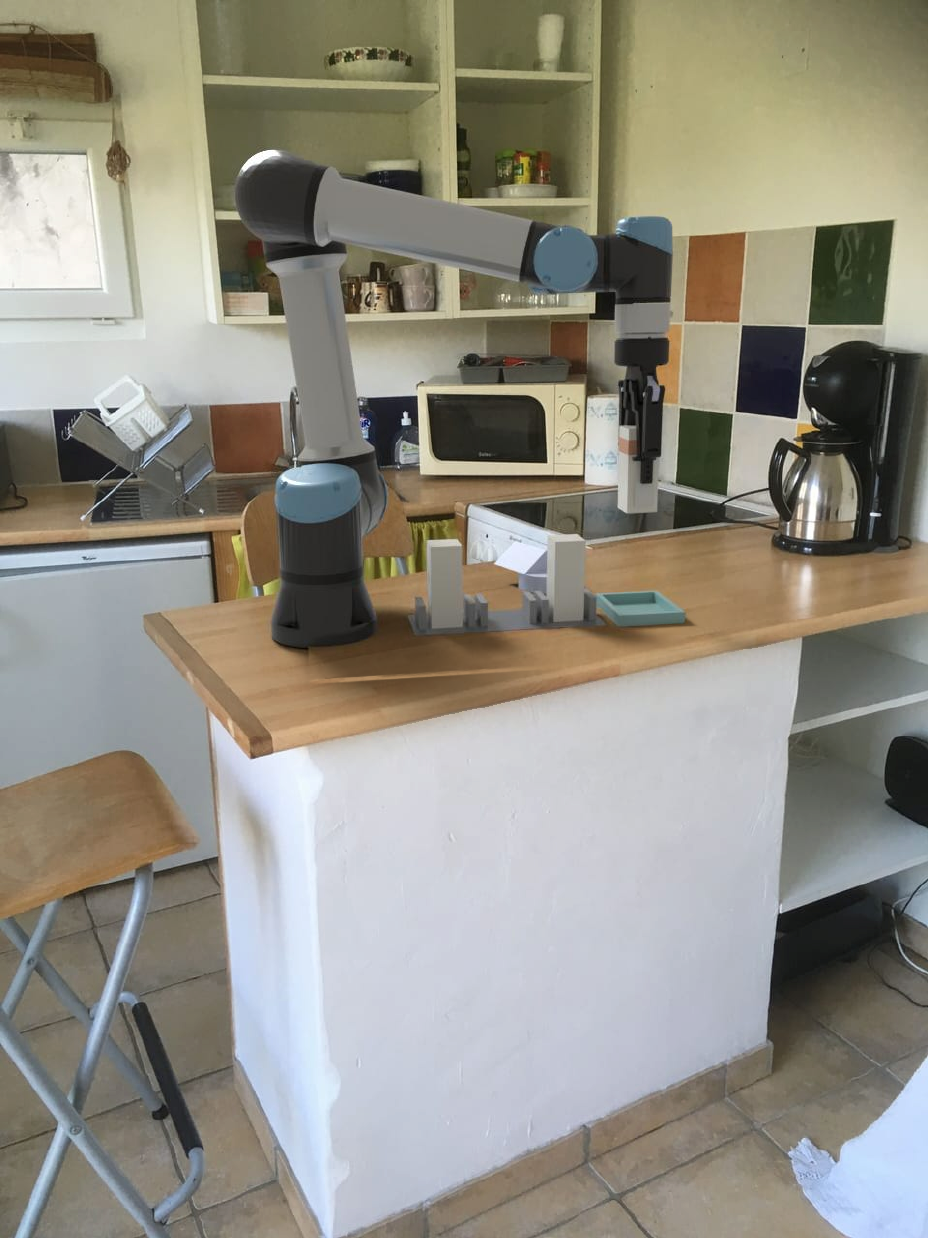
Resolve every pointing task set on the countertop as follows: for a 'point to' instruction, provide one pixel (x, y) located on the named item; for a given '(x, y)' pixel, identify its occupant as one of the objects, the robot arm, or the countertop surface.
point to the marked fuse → (631, 472)
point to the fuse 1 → (444, 583)
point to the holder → (504, 616)
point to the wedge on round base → (526, 566)
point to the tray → (639, 608)
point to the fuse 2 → (565, 577)
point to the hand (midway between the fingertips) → (637, 502)
